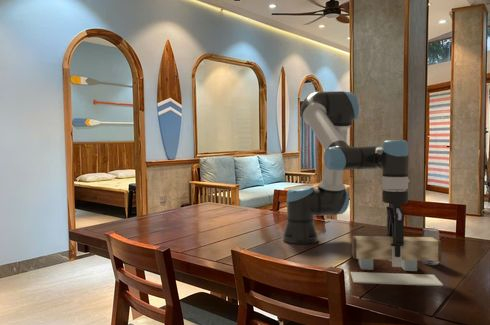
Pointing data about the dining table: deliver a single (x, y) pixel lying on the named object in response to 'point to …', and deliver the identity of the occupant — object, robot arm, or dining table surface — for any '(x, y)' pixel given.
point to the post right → (409, 265)
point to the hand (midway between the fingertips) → (394, 263)
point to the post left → (366, 264)
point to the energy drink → (431, 233)
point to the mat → (395, 278)
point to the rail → (383, 250)
